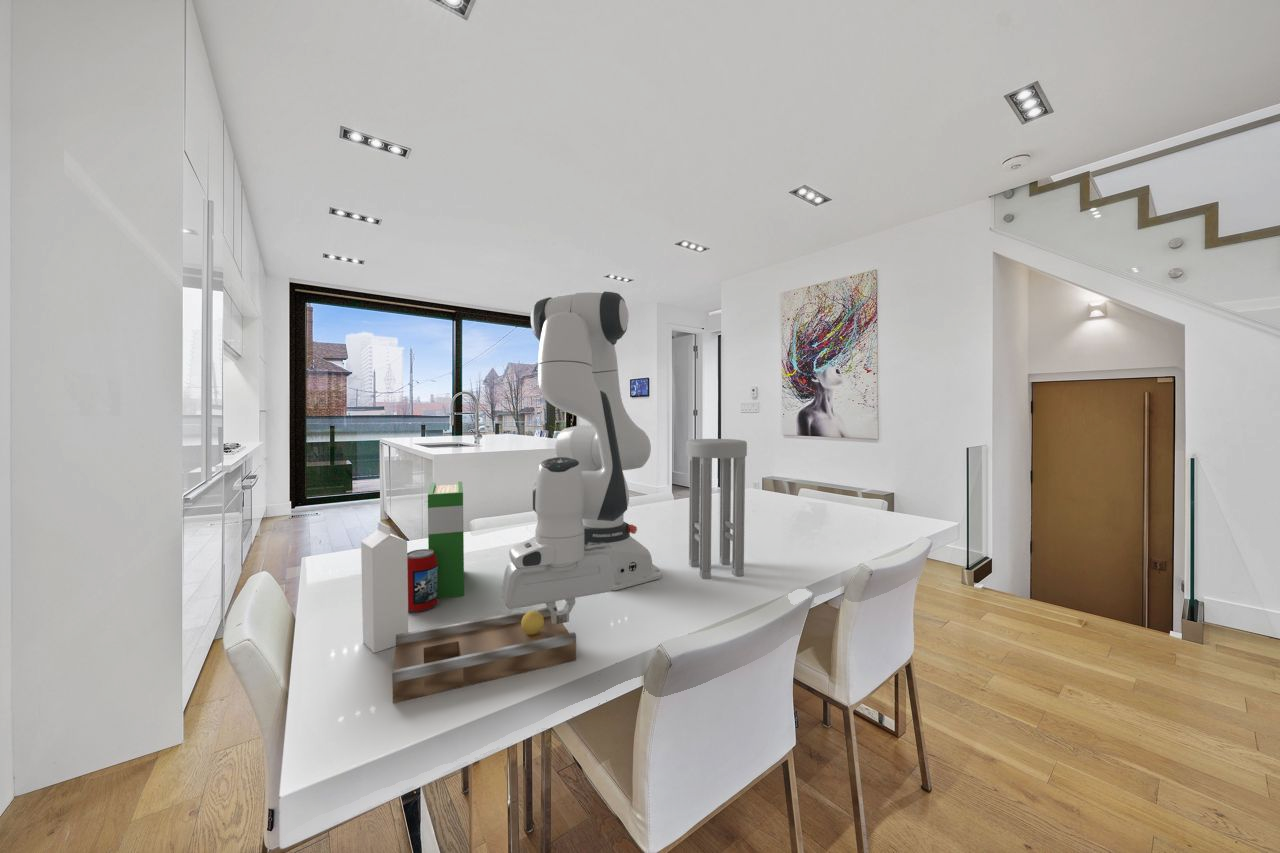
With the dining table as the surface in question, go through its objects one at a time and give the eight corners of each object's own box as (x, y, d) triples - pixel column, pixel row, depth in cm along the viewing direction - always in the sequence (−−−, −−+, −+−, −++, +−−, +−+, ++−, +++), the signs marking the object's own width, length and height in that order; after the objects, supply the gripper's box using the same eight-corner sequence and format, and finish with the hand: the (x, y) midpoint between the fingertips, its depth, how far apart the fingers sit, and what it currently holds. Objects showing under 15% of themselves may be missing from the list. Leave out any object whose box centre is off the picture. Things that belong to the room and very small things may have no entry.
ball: (541, 626, 87) (541, 605, 87) (546, 636, 83) (546, 614, 83) (519, 631, 85) (519, 609, 85) (523, 641, 82) (523, 618, 81)
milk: (396, 631, 91) (395, 518, 91) (409, 642, 87) (407, 524, 87) (361, 642, 87) (360, 524, 86) (373, 654, 83) (371, 529, 82)
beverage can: (424, 615, 98) (423, 558, 98) (396, 612, 100) (395, 556, 99) (444, 602, 105) (443, 549, 105) (417, 599, 106) (416, 547, 106)
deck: (555, 628, 93) (555, 605, 93) (576, 660, 81) (576, 634, 81) (396, 660, 81) (395, 634, 81) (392, 703, 69) (392, 673, 69)
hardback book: (432, 574, 123) (431, 482, 122) (462, 571, 125) (462, 481, 124) (429, 600, 106) (427, 494, 105) (464, 595, 109) (463, 492, 108)
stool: (697, 582, 118) (698, 442, 116) (679, 562, 133) (680, 438, 132) (754, 578, 121) (756, 442, 120) (731, 559, 136) (732, 438, 135)
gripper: (606, 536, 93) (606, 605, 94) (500, 549, 84) (500, 625, 85) (619, 545, 87) (619, 618, 88) (506, 560, 79) (507, 641, 79)
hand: (560, 622), depth 86 cm, fingers closed
